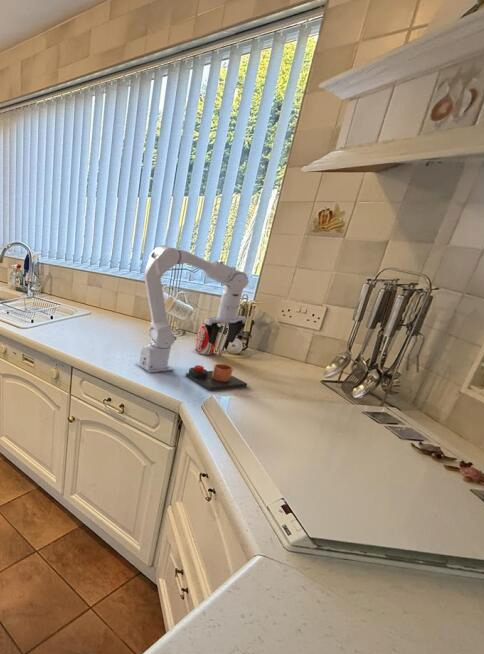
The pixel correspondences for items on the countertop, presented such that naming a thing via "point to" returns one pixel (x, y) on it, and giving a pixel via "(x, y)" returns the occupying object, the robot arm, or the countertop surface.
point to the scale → (211, 384)
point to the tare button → (198, 368)
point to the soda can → (204, 342)
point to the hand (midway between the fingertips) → (220, 342)
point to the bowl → (222, 372)
